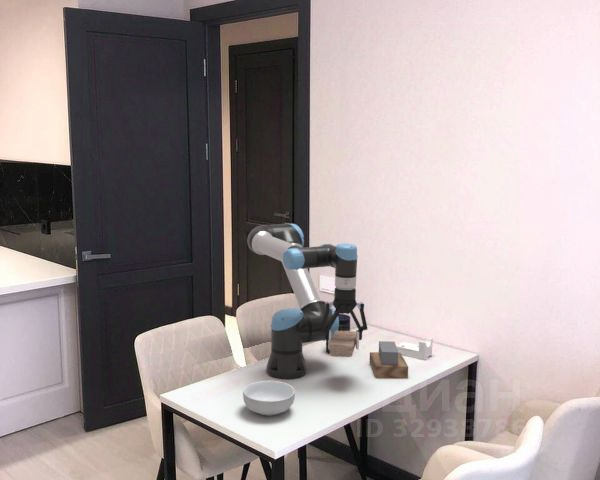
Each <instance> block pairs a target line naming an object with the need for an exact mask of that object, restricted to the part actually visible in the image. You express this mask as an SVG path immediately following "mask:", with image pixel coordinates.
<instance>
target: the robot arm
mask: <svg viewBox="0 0 600 480" xmlns="http://www.w3.org/2000/svg"><path fill="white" fill-rule="evenodd" d="M304 238H305V236H304V233H303V230H302V229H301V228H300V226H298V224H295V223H288V222H285V223H280V224H279V223H277V224H275V223H274V224H261V225H258V226H255V227H254V228H253V229H252V230H251V231H250V232H249V234H248V235H247V240H246V241H247V242H246V243H247V246H248V248H249V249H250V251H252V252H253V253H254V254H257V255H260V256H264V255H266V256H268V257H270V258H273V259H275V260H277V261H279V262H281V264H282V266H283V268H284V271H285V273H286V276H287V279H288V281H289V284H290V286H291V288H292V291H293V294H294V297H295V299H296V302H297V304H298V307H299V308H284V309H281V310H278V311H276V312H275V313H273V315H272V316H271V324H270V328H271V331H270V332H271V333H270V335H271V338H270V339H271V341H270V343H271V345H270V346H271V348H270V350H271V352H270V355H269V357H268V361H267V364H266V367H265V368H266V371H265V372H266V374H267V375H268V376H270V377H273V378H277V379H284V380H287V379H288V380H290V379H297V378H301V377H304V376H305V375H306V374H307V369H308V368H307V363H306V360H305V357H304V354H303V344H306V343H307V344H308V343H314V342H320V341H321V342H322V341H324V342H326V340H328V349H329V350H330V342H331V339H332V338H333V337H334V332H335V331H338V328H339V318H338V315H339V314H345V315H349V314H350V315H351V318H352V320H353V321H354V323H355V325H356V327H357V329H356V330H355V332H356V345H355V349H356V350H357V351H358V350H359V348H360V341H362V340H363V332H364V331H367V330H368V324H367V320H366V315H365V310H364V309H365V304H364V302H363V301H360V302H358V301H357V299H356V293H357V289H356V288H357V267H358V264H357V263H358V247H357V245H355V244H353V243H346V242H345V243H343V242H342V243H338V244H336V245H333V244H330V243H329V244H328V243H323V244H321V245H319V246H318V245H317V246H308V247H304V245H305V239H304ZM324 267H325V268H327V267H330V268H334V269H335V270H334V277H335V278H334V286H335V287H334V296H333V297H334V299H333V301H332V302H329V301H325V300H322V299H321V298H320V296H319V293H318V290H317V288H316V286H315V284H314V281H313V278H312V277H311V274H310V272H309V269H315V268H324ZM332 307H334V308H335V309H334V308H332ZM356 307H357V308H358V309H359V313H360V319H361V322H362V326H361V324H360V322H359V319H358V318H357V316H356V314H355V311H354V309H355V308H356Z"/></svg>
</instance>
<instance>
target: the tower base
mask: <svg viewBox="0 0 600 480" xmlns="http://www.w3.org/2000/svg"><path fill="white" fill-rule="evenodd" d="M368 362H369V363H370V364H369V366H370V368H371V371H372V372H373V376H374V378H375V379H408V378H409V365H408V364H407V362H406V360H405V358H404V356H403V355H401V353H400V352H398V365H381V361H380V357H379V351H378V352H377V351H375V352H371V351H370V352H369V361H368Z"/></svg>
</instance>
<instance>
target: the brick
mask: <svg viewBox="0 0 600 480" xmlns="http://www.w3.org/2000/svg"><path fill="white" fill-rule="evenodd" d="M355 349H356V330H355V331H353V330H350V331H335V332H334V337H333V338H332V340H331V342H330V353H329V354H328V355H330V356H332V357H341V358H352V357H353V354H354V351H355Z"/></svg>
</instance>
